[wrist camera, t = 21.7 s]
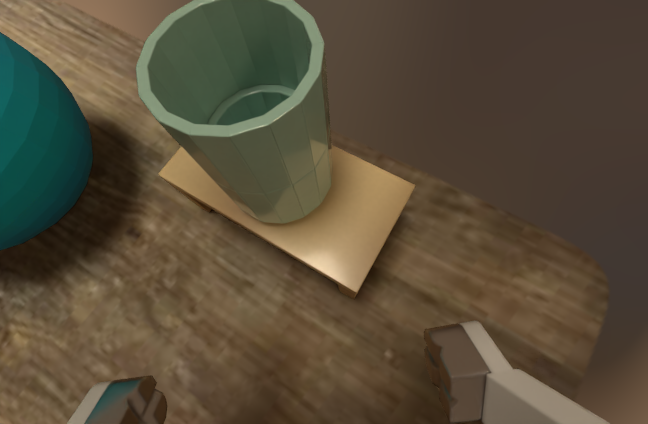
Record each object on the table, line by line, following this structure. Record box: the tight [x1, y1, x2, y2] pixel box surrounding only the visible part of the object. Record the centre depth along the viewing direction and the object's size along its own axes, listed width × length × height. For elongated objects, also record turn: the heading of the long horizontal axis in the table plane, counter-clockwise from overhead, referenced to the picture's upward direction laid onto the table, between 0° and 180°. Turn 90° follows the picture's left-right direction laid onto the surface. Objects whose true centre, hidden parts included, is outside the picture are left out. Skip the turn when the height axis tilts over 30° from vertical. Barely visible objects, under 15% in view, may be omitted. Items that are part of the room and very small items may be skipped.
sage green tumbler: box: [136, 0, 333, 224], centre depth 14 cm, size 6×6×9 cm
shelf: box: [158, 145, 415, 299], centre depth 21 cm, size 14×7×6 cm, turn 59°
